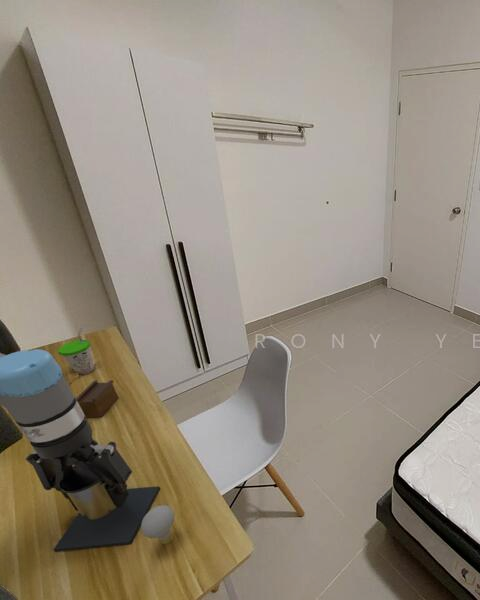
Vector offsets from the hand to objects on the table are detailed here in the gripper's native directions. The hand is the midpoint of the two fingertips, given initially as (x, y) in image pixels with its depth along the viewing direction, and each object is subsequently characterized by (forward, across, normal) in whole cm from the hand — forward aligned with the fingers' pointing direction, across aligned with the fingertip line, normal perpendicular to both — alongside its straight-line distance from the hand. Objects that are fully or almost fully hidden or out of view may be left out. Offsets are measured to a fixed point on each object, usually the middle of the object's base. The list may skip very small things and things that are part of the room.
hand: (103, 502), depth 70 cm
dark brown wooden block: (+6, -22, +34) cm, 41 cm away
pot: (-5, 0, 0) cm, 5 cm away
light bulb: (+6, +14, -6) cm, 16 cm away
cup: (+6, -38, +52) cm, 65 cm away
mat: (+6, 0, 0) cm, 6 cm away
